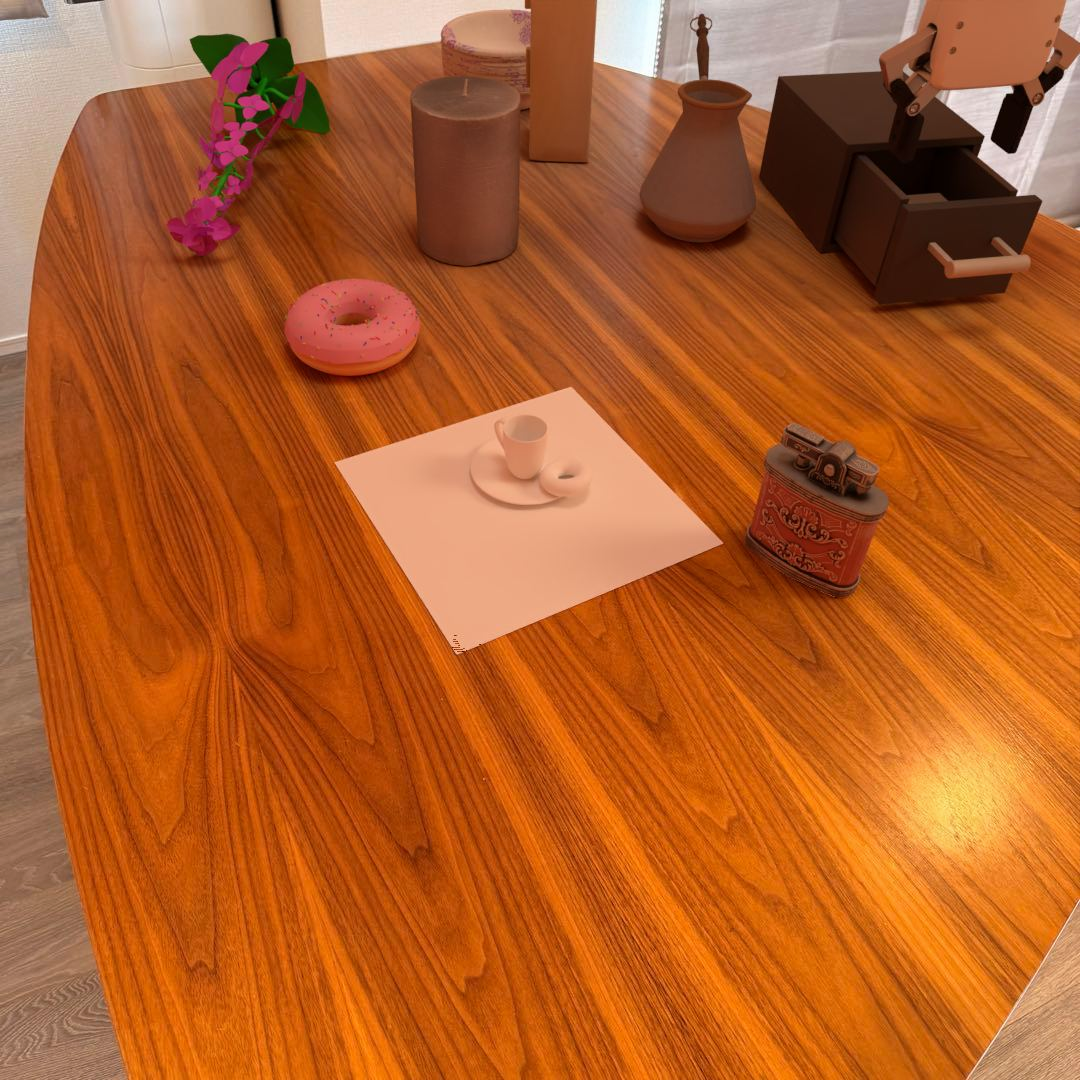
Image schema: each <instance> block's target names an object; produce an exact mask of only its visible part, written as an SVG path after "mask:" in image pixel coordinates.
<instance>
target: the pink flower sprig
mask: <svg viewBox="0 0 1080 1080" xmlns="http://www.w3.org/2000/svg"><path fill="white" fill-rule="evenodd" d="M189 43H190V45H191V48H192V51H193V52H194V54H195V55H196V56H197V58H198V60H199V61H200V63H202V65H203V67H204V68H205V70H206V72H207V73H208V74H209V75H210V77H211V80H213V81H216V82H218V86H217V98H216V97H214V99H213V101H212V103H211V107H210V120H209V121H210V123H209V128H210V136H211V139H212V140H210V141H208V143H207V142H206V141H205V140H204V138H203V137H202V136H200V135H199V142H200V146H201V148H202V150H203V151H204V153H205V154H206V155H207V157H208V159H209V164H208V165H207V167H206V168H205V170H204V171H203V170H202V168H201V166H200V165H199V166H198V182H197V184H198V191H200V192H201V191H202V190H203V191H205V190H207V188H208V187H209V186H210V187H211V188H212V189H214V190H213V192H212V194H211V196H206V195H203V196H202V197H201V198H197V199H196V196H194V197H192V203H191V204H190V208H189V209H188V210H187V211H186V212H185V213H184V216H183V218H184V221H183V220H182V218H180V217H173V218H172V217H171V218H170V219H169V220H168V221H167V223H166V227H167V230H168V231H169V235H170V236H171V238H172V239H173V240H174V241H176V242H177V243H180V244H182V245H183V246H186V247H187V248H188V249H189V251H191V252H194V253H195V255H196V256H198V257H202V256H206V255H208V254H211V253H212V252H214V251H215V250H216V249H217V248H218V246H219V243H218V242H217V241H219V242H225V241H228V240H230V239H232V238H233V237H234V236H235V235H236V234H237V233H238V232H239V230H240V228H241V225H239V224H231V225H230V223H229V222H228V221H227V220H226V219H225V218H224V216H225V214H227V213H226V212H227V209H228V208H229V207H230V205H232V204H233V203H234V202H235V200H236V199H237V197H236V196H234V197H232V198H229V197H225V198H224V195H227V196H232V195H233V194H237V195H240V194H241V191H242V190H245V191H246V192H247V191H248V190H249V189H250V186H251V185H252V177H253V173H254V167H253V161H254V159H255V157H256V155H259V154H260V152H262V150H263V149H264V148H265V146H266V145H268V144H269V143H270V141H271V140H272V139H273V136H274V135H273V134H275V132H276V131H277V129H278V128H279V127H280V125H281V124H282V120H284V121H285V122H286V124H287V125H289V126H290V127H292V128H296V129H299V130H306V131H310V132H314V133H318V134H320V135H323V134H326V133H330V132H331V128H330V118H329V115H328V113H327V110H326V107H325V105H324V101H323V99H322V97H321V96H322V95H321V94H320V92H319V90H318V88H317V86H315V84H314V83H313V82H312V81H310V79H309V78H307V77H306V74H305V72H304V71H303V70H300V72H299V74H292V75H288V74H290V73H291V72H292V71H293V69H294V67H295V61H294V58H293V57H294V56H293V52H292V44H291V42H290V41H289V39H288V38H287V37H279V36H277V37H273V38H267V39H263V40H261V41H258V42H254V43H251V44H250V42H249V41H248V40H247V39H246V38H244V37H242V36H240V35H237V34H232V33H221V34H199V35H196V36H194V37H191V38H189ZM226 86H227V87H228V89H229V90H230V91H231V92H233V93H234V94H238V95H237V96H236V98H235V101H234V103H233V102H227V101H223V98H224V95H225V90H226V88H227V87H226ZM217 99H218V100H220V102H219V101H218V100H217ZM273 105H274V106H273ZM224 107H231V108H233V109H234V113H235V114H234V115H235V121H230V122H226V123H225V118H224V117H225V115H224ZM274 107H275V110H276V111H275V110H274ZM224 123H225V124H224ZM266 127H270V128H271V127H272V128H271V129H270V131H269V132H268V134H267V135H266V136H264V135H262V134H261V132H260V130H262V129H264V128H266ZM224 129H225V130H227V131H229V136H228V135H227V136H225V135H224V134H223V133H222V132H221V131H223V130H224ZM253 133H256V135H257V136H258V137H259V138H260V139H261V141H260V142H258V143H257V144H256V145H255V147H254V148H253V149H252V150H251V151H250V155H251V157H250V158H248V157H247V156H245V155H247V154H248V153H249V149H248V148H247V147H246V146H245V145H243V142H244V140H245V138H246V135H250V134H253ZM237 157H242V158H243V159H245V160H246V161H247V162H246V164H245V166H244V170H245V171H244V174H245V175H246V176H242V175H241V174H239V173H237V168H236V166H235V161H236V159H237ZM212 164H213V165H214V166H215V168H217V169H218V170H220V169H222V170H223V171H222V174H221V175H219V176H217V175H218V173H217V172H216V171H215V172H214V171H213V165H212ZM232 170H233V171H232ZM202 171H203V172H202ZM212 181H218V182H217V184H216V186H214V184H213V183H212ZM227 181H228V182H227ZM220 196H221V200H220ZM220 211H223V213H222V214H221V215H220V214H218V213H217V212H220ZM216 216H217V218H215V219H213V218H214V217H216ZM212 219H213V220H212ZM184 222H185V223H184Z"/></svg>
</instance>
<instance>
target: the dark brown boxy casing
mask: <svg viewBox="0 0 1080 1080" xmlns="http://www.w3.org/2000/svg"><path fill="white" fill-rule="evenodd" d="M910 76H911V75H910ZM910 76H909V74H907V73H905V72H904V71H903V79H904V82H905V81H906V80H907V79H908V78H909V77H910ZM883 82H884V79H883V77H882V72H881V70H880V71H879V70H877V71H858V72H840V73H839V72H838V73H837V72H836V73H835V72H834V73H817V74H797V75H779V76H777V83H776V87H775V91H774V92H775V93H774V96H773V102H772V107H771V113H770V118H769V123H768V127H767V134H766V138H765V139H766V140H765V143H764V149H763V154H762V159H761V164H760V168H759V175H758V179H759V180H760V181H761V183H762V184H763V185H764V186H765V187H766V189H767V190H768V191H769V192H770V194H771V195H772V196H773V197H774V199H776V201H777V202H778V203H779V205H780V206H781V207H782V208H783V209H784V211H785V212H786V214H788V216H789V217H790V218H791V219H792V221H793V222H794V223H795V224H796V225H797V226H798V228H799V229H800V230H801V231H802V233H803V234H804V235H805V237H807V239H808V240H809V241H810V242H811V244H812V245H813V247H815V249H816V250H817V251H818V252H819V253H820V254H825V253H838V252H845V251H844V250H843V249H842V248H841V246H840V245H839V244H838V243H837V242H836V241H835V239H834V238H833V237H832V233H833V229H834V225H835V221H836V218H837V214H838V210H839V206H840V202H841V198H842V194H843V191H844V187H845V183H846V179H847V175H848V171H849V168H850V164H851V160H852V156H853V153H854V152H870V151H886V150H889V143H888V141H889V135H890V132H891V128H892V124H893V120H894V116H895V112H896V109H897V105H896V104H895V103H894V102H893V100H892V97H891V96H890V95H889V93H888V92H887V90H886V89H885V87H884V85H883ZM922 87H923V86H922ZM922 87H921V88H922ZM921 88H920V89H921ZM920 89H919V90H920ZM919 90H918V91H919ZM918 91H917V92H918ZM917 92H916V93H917ZM916 93H915V94H916ZM915 94H914V95H915ZM920 114H922V115H923V116H924V123H923V127H922V130H921V134H920V138H919V141H918V145H917V148H933V147H948V146H965V147H966V148H967V149H969V150H970V151H971V152H972V153H974V154H975V155H976V156H977V157H978V156H979V154H980V152H981V149H982V144H983V143H984V140H985V137H986V135H984V134H983V133H982V132H980V130H978V129H977V128H976V127H974V126H973V125H971V124H970V123H969V122H968V121H966V120H965V118H963V117H962V116H960V115H959V114H958V113H956V112H955V111H954V110H953V109H952V108H951V107H949V106H948V105H946V103H944V102H943V101H941V100H940V99H939V98H937V97H936V96H935V97H934V98H933V99H932V100H931V101H930V102H929V103H928V104H927V105H926V106H925V107H924V108H923V109H922V110H921V111H920ZM917 148H916V149H917ZM978 158H979V157H978Z"/></svg>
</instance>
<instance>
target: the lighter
mask: <svg viewBox="0 0 1080 1080" xmlns="http://www.w3.org/2000/svg"><path fill="white" fill-rule="evenodd" d="M763 468H764V473H763V477H762V481H761V484H760V485H761V486H760V488H759V489H760V490H759V493H758V497H757V501H756V504H755V509H754V512H753V517H752V520H751V523H750V524H749V525H748V526H747V529H746V533H745V537H744V542H745V545H746V547H747V549H749V550H750V552H752V553H754V554H755V555H756V556H757V557H758V558H760V559H761V560H762V561H764V562H765V563H766V564H767V565H769V566H770V567H772V566H773V567H772V568H773V569H775V570H777V571H778V572H780V573H781V572H782V573H781V574H783V575H784V574H785V575H784V576H786V577H788V578H790V577H791V578H790V579H792V580H793V579H794V580H793V581H795V580H797V581H799V582H803V583H804V584H805V585H808V586H811V587H813V588H815V589H817V590H819V591H822V592H824V593H827V594H830V595H832V596H835V597H837V598H836V599H839V598H838V597H846V596H849V595H850V596H852V595H853V594H854V593H855V592H856V590H857V588H858V586H859V583H860V579H861V574H860V572H861V569H862V567H863V564H864V562H865V559H866V556H867V554H868V551H869V549H870V546H871V543H872V540H873V538H874V536H875V532H876V531H877V527H878V525H879V523H880V520H882V519H883V518H884V517H885V515H886V512H887V510H888V508H889V505H890V499H889V497H888V495H887V493H885V492H884V491H883V490H882V489H881V488H879V487H878V486H876V485H875V482H876V480H877V477H878V475H879V472H880V466H878V465H877V464H876V463H874V462H873V461H871V460H868V459H866V458H864V457H862V456H861V455H859V454H858V453H857V449H856V447H855V446H854V444H852V443H851V442H849V441H847V440H841V439H840V440H838V441H837V442H832V441H830V440H828V439H826V438H825V437H824V436H823V435H821V434H819V433H816V432H815V431H813V430H810V429H808V428H807V427H805V426H803V425H800V424H799V423H796V422H792V423H789V424H788V425H786V426H785V427H784V428H783V431H782V436H781V439H780V443H779V444H774V445H772V446H771V447H770V448H768V450H767V451H766V453H765V458H764V462H763ZM797 581H796V582H797ZM799 582H798V583H799ZM805 585H804V586H805ZM819 591H818V592H819ZM853 592H854V593H853ZM851 594H852V595H851ZM850 596H849V597H850ZM846 598H847V597H846Z"/></svg>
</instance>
